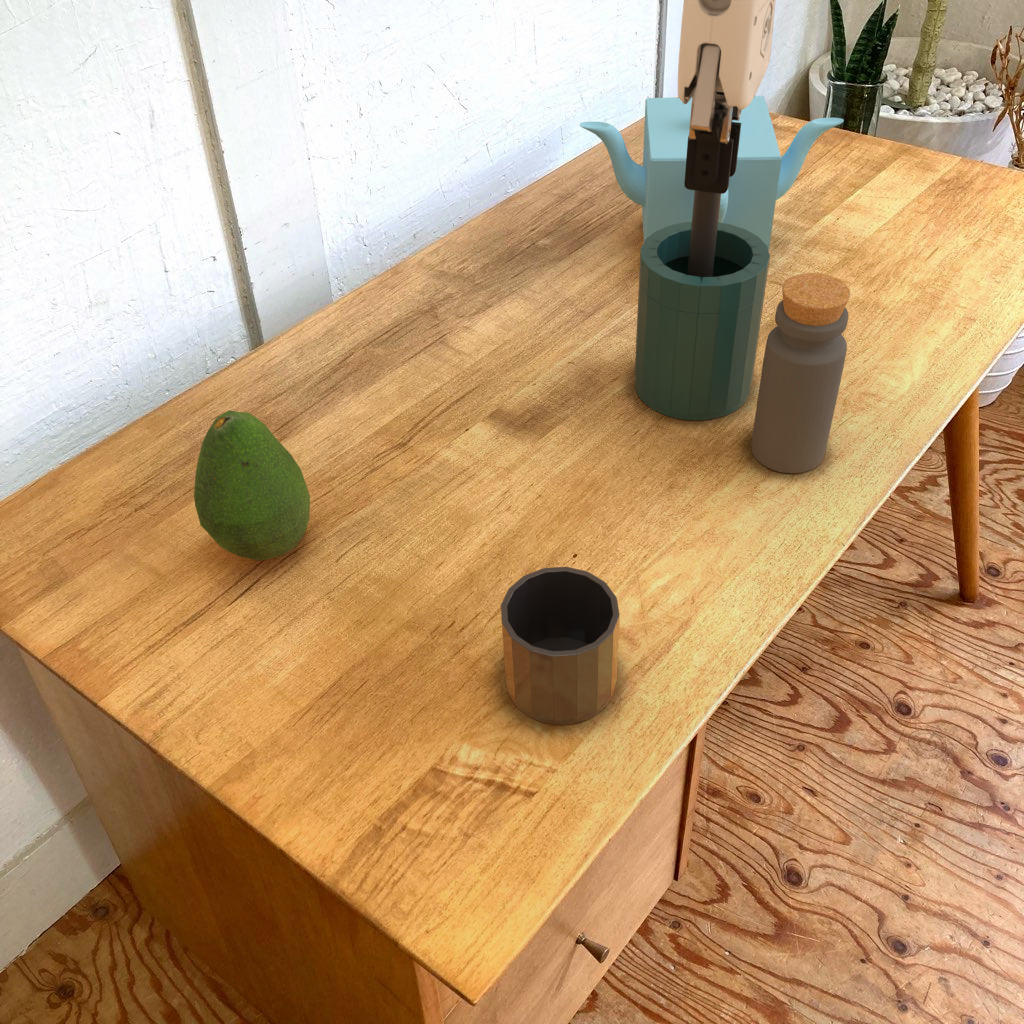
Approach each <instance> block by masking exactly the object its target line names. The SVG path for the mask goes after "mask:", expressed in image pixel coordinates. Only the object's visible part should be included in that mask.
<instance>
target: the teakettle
mask: <svg viewBox="0 0 1024 1024" xmlns="http://www.w3.org/2000/svg"><path fill="white" fill-rule="evenodd" d="M644 102H645V103H644V126H643V148H642V165H641V164H639V163H637V162H636V161H634V160H633V159H632V157H631V156H630V153H629V151H628V149H627V146H626V142H625V140H624V137H623V136H622V133H621V132H620V130H619V129H617V127H615V126H614V125H612V124H611V123H608V122H604V121H583V122H580V123H579V127H581V128H582V129H584V130H587V131H588V132H590V133H592V134H594V135H595V136H596V137H598V139H600V141H601V142H602V143H603V145H604V146H605V148H606V150H607V153H608V155H609V156H608V157H609V158H610V162H611V167H612V170H613V173H614V176H615V179H616V182H617V184H618V186H619V188H620V189H621V191H622V192H623V193H624V195H625V196H626V197H627V198H628V199H629V200H631V201H632V202H633V203H634V204H637V205H638V206H641V216H642V231H643V232H642V233H643V235H642V236H643V242H644V241H645V239H646V238H647V237H649V236H650V235H651V234H653V233H654V232H655V231H657V230H660V229H662V228H665V227H667V226H670V225H673V224H678V223H684V222H690V221H692V215H693V203H694V192H695V190H689V189H687V188H686V187H685V186H684V182H685V169H686V157H687V144H688V136H689V129H690V117H691V105H692V97H691V99H690V100H689V102H688V103H687V104H684V103H683V102H682V101H681V100H680V98H679V97H678V96H677V97H675V96H674V97H646V99H645V101H644ZM844 121H845V120H844V119H843V118H840V117H819V118H815V119H812V120H810V121H807V122H806V123H805V124H804V125H803V126H802V127H801V128H799V130H798V131H797V133H796V134H795V136H794V137H793V139H792V141H791V143H790V145H789V146H788V148H787V149H786V151H785V152H784V153H783V155H781V152H780V151H781V150H780V148H779V144H778V141H777V136H776V132H775V130H774V129H775V128H774V125H773V121H772V118H771V115H770V111H769V108H768V104H767V101H766V98H765V95H755V96H754V98H753V100H752V102H751V103H750V104H749V105H748V106H747V107H746V108H745V109H743V110H741V116H740V119H739V121H735V120H732V122H738V123H741V131H740V140H739V149H738V157H737V166H736V171H735V174H734V175H733V176H731V177H730V178H729V187H728V189H727V191H726V192H725V193H724V194H721V200H720V209H719V219H718V222H719V223H726V224H730V225H734V226H737V227H740V228H743V229H746V230H748V231H749V232H751V233H753V234H755V235H757V236H758V237H759V238H760V239H761V240H762V241H763V242H764V243H765V244H766V245H767V247H768V250H769V251H770V245H771V238H772V233H773V232H772V231H773V224H774V219H775V218H774V216H775V211H776V210H775V209H776V202H777V201H778V200H779V199H781V198H782V197H784V196H785V194H787V193H788V192H789V190H790V189H791V188H792V187H793V185H794V183H795V182H796V181H797V178H798V176H799V175H800V172H801V170H802V168H803V165H804V163H805V160H806V158H807V156H808V154H809V152H810V150H811V148H812V146H813V145H814V144H815V142H816V141H817V140H818V138H819V137H821V136H822V135H823V134H824V133H826V132H828V131H829V130H831V129H833V128H835V127H837V126H839V125H842V123H844Z"/></svg>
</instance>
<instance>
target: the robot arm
mask: <svg viewBox="0 0 1024 1024" xmlns="http://www.w3.org/2000/svg"><path fill="white" fill-rule="evenodd" d="M682 4H683V5H682V13H681V14H682V16H681V25H680V37H679V52H678V62H677V63H678V65H677V66H678V67H677V97H679V98H680V100H681V101H682V102H683V103H684V104H687V103H688V102H689V100H690V99H691V97H692V105H691V117H690V129H689V136H688V144H687V157H686V169H685V182H684V186H685V187H686V188H687V189H689V190H696V191H704V192H712V193H719V194H724V193H725V192H726V191H727V189H728V187H729V178H730V177H731V176H733V175H734V174H735V171H736V166H737V157H738V149H739V140H740V131H741V123H738V122H732V120H735V121H739V119H740V116H741V110H743V109H745V108H746V107H747V106H748V105H749V104H750V103H751V102H752V100H753V98H754V96H756V94H757V92H758V89H759V88H760V85H761V83H762V81H763V79H764V77H765V74H766V73H767V70H768V67H769V64H770V60H771V55H772V44H773V34H774V33H773V32H774V21H775V13H776V12H775V11H776V0H683V3H682ZM714 109H720V110H723V113H722V119H721V115H720V114H719V113H714Z"/></svg>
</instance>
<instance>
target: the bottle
mask: <svg viewBox="0 0 1024 1024" xmlns="http://www.w3.org/2000/svg"><path fill="white" fill-rule="evenodd" d="M781 289H782V290H781V293H782V300H780V301H779V303H778V304H777V306H776V309H775V314H774V321H775V325H776V326H775V327H774V328H772V329H771V331H769V333H768V334H767V338H766V343H765V349H764V354H763V355H764V356H763V360H762V367H761V374H760V380H759V388H758V395H757V401H756V409H755V415H754V421H753V430H752V437H751V445H750V446H751V453H752V455H753V456H754V458H755V459H756V461H757V462H759V464H761V465H762V466H764V467H766V468H768V469H769V470H772V471H775V472H778V473H781V474H782V473H783V474H802V473H807V472H810V471H813V470H814V469H816V468H817V467H818V466H819V465H820V464H821V463H822V462H823V460H824V458H825V454H826V451H827V447H828V442H829V438H830V433H831V429H832V424H833V419H834V414H835V409H836V405H837V400H838V396H839V395H838V394H839V390H840V386H841V381H842V376H843V371H844V367H845V362H846V356H847V350H848V343H847V340H846V338H845V336H844V335H843V333H844V332H845V330H846V329H847V327H848V321H849V310H848V309H847V307H846V306H847V304H848V302H849V300H850V297H851V290H850V287H849V285H847V284H846V283H845V282H844V281H843V280H841V279H840V278H837V277H835V276H832V275H829V274H826V273H820V272H805V273H799V274H796V275H793V276H791V277H788V279H786V280H785V281H784V282H783V285H782V287H781Z"/></svg>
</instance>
